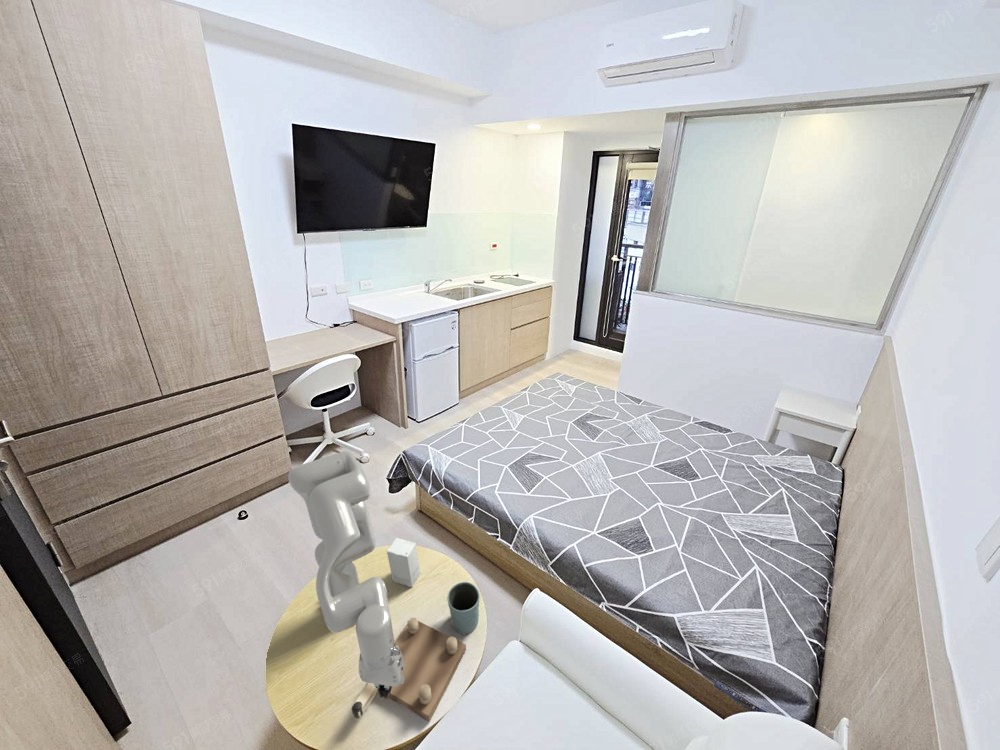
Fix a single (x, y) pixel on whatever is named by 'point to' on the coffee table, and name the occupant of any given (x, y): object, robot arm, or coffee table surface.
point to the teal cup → (464, 606)
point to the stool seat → (425, 667)
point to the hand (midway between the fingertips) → (385, 691)
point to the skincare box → (403, 562)
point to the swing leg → (364, 700)
